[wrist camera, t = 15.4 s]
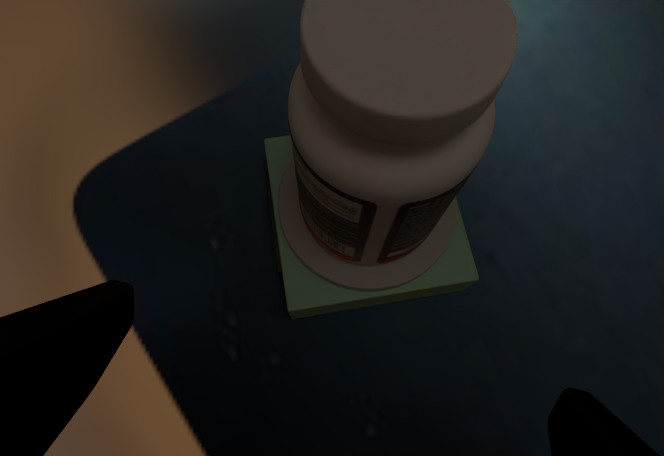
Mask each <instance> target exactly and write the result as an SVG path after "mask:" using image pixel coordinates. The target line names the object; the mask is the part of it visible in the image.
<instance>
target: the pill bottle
mask: <svg viewBox="0 0 664 456" xmlns="http://www.w3.org/2000/svg"><path fill="white" fill-rule="evenodd" d="M517 35H518V34H517V26H516V21H515V16H514V14H513V11H512V9H511V6H510V4H509V2H508V0H305V2H304V5H303V8H302V13H301V19H300V61H301V62H300V63H299V65H298V67H297V69H296V71H295V74H294V76H293V79H292V82H291V86H290V91H289V97H288V118H289V129H290V135H291V142H292V149H293V157H294V165H295V172H296V179H297V186H298V194H299V203H300V209H301V213H302V216H303V219H304V221H305V224H306V226H307V228H308V230H309V231H310V233H311V234H312V236H313V237H314V239H315V240H316V241H317V242H318V243H319V244H320V245H321V246H322V247H323V248H325V249H326V250H327V251H329V252H330V253H332V254H333V255H335V256H337V257H339V258H341V259H343V260H346V261H349V262H353V263H358V264H364V265H378V264H385V263H389V262H393V261H396V260H398V259H401V258H403V257H405V256H407V255H408V254H410V253H411V252H413V251H414V250H415V249H417V248H418V247H419V246H420V245H421V244H422V243H423V242H424V241H425V240H426V238H427V237H428V236H429V235H430V233H431V232H432V230H433V229H434V227H435V226H436V224H437V223H438V221H439V220H440V219H441V217H442V216H443V214H444V213H445V211H446V210H447V208H448V207H449V205H450V204H451V203H452V201H453V200H454V198H455V197H456V195H457V194H458V192H459V191H460V189H461V188H462V187H463V185H464V183H465V182H466V181H467V179H468V178H469V176H470V175H471V173H472V172H473V170H474V169H475V168H476V166H477V164H478V163H479V161H480V159H481V158H482V156H483V154H484V152H485V151H486V148H487V146H488V144H489V141H490V139H491V136H492V132H493V127H494V121H495V101H494V99H495V97H496V94H497V92H498V90H499V89H500V87H501V85H502V83H503V81H504V79H505V78H506V76H507V74H508V72H509V70H510V68H511V66H512V63H513V60H514V57H515V52H516V47H517Z"/></svg>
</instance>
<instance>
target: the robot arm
mask: <svg viewBox="0 0 664 456" xmlns="http://www.w3.org/2000/svg"><path fill="white" fill-rule="evenodd" d="M133 320H134V290H133V287H132V285H130V284H129V283H124V282H120V281H116V280H111V281H108V282H105V283H102V284H99V285H96V286H93V287H90V288H87V289H84V290H81V291H78V292H75V293H72V294H69V295H66V296H63V297H60V298H57V299H54V300H51V301H48V302H45V303H42V304H39V305H36V306H33V307H30V308H27V309H24V310H21V311H18V312H15V313H12V314H9V315H6V316H3V317H0V456H43V455H44V454H45V453H46V451H47V450H48V448H49V447H50V446H51V445H52V443H53V442H54V441H55V439H56V438H57V437H58V435H59V434H60V433H61V432H62V430H63V429H64V428H65V426H66V425H67V424H68V422H69V421H70V420H71V418H72V417H73V416H74V414H75V413H76V412H77V410H78V409H79V408H80V406H81V405H82V404H83V402H84V401H85V400H86V398H87V397H88V396H89V394H90V393H91V391H92V390H93V389H94V387H95V386H96V384H97V382H98V381H99V379H100V378H101V376H102V374H103V373H104V371H105V369H106V367H107V366H108V364H109V363H110V361H111V359H112V358H113V356H114V354H115V353H116V351H117V349H118V348H119V346H120V344H121V343H122V341H123V339H124V338H125V336H126V334H127V333H128V331H129V329H130V328H131V326H132V323H133ZM548 434H549V441H550V447H551V454H552V456H660V455H659V454H657V453H656V452H655V451H654V450H653V449H652V448H651V447H650V446H649V445H647V444H646V443H645V442H644V441H643V440H642V439H641V438H640V437H638V436H637V435H636V434H635V433H634V432H633V431H632V430H631V429H630V428H628V427H627V426H626V425H625V424H624V423H623V422H622V421H621V420H619V419H618V418H617V417H616V416H615V415H614V414H613V413H612V412H610V411H609V410H608V409H607V408H606V407H605V406H604V405H603V404H602V403H600V402H599V401H598V400H597V399H596V398H595V397H594V396H593V395H591V394H590V393H588V392H586V391H582V390H578V389H574V388H566V389H565V390H563V392H562V393H561V395H560V397H559V399H558V401H557V402H556V404H555V406H554V408H553V410H552V412H551V413H550V416H549V419H548Z"/></svg>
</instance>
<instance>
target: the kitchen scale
mask: <svg viewBox="0 0 664 456" xmlns="http://www.w3.org/2000/svg"><path fill="white" fill-rule="evenodd" d="M264 144H265V151H266V158H267V165H268V173H269V179H266V187H267V195H268V202H269V210H270V217H271V224H272V232H273V239H274V247H275V254H276V262H277V269H278V274H279V276H280V278H283V281H284V289H285V296H286V303H287V310H288V313H289V315H290V317H291V319H297V318H303V317H308V316H314V315H320V314H326V313H332V312H338V311H344V310H350V309H356V308H362V307H368V306H374V305H379V304H385V303H391V302H397V301H403V300H409V299H415V298H421V297H427V296H433V295H439V294H445V293H450V292H456V291H462V290H464V289H466V288H467V287H469V286H470V285H472V284H473V283H475V282H476V281H478V280H479V277H478V273H477V270H476V266H475V263H474V259H473V256H472V252H471V249H470V245H469V242H468V238H467V235H466V231H465V228H464V224H463V221H462V217H461V214H460V210H459V207H458V203H457V200H456V197H455V198H454V200H453V201H452V203H451V204H450V205H449V207H448V208H447V210H446V211H445V213H444V214H443V216H442V217H441V219H440V220H439V221H438V223H437V224H436V226H435V227H434V229H433V230H432V232H431V233H430V235H429V236H428V237H427V238H426V240H425V241H424V242H423V243H422V244H421V245H420V246H419V247H418V248H417V249H415V250H414V251H413V252H411V253H410V254H408V255H407V256H405V257H403V258H401V259H398V260H396V261H393V262H389V263H385V264H378V265H364V264H358V263H353V262H349V261H346V260H343V259H341V258H339V257H337V256H335V255H333V254H332V253H330V252H329V251H327V250H326V249H325V248H323V247H322V246H321V245H320V244H319V243H318V242H317V241H316V240H315V239H314V237H313V236H312V234H311V233H310V231H309V230H308V228H307V226H306V224H305V221H304V219H303V216H302V213H301V209H300V203H299V194H298V186H297V179H296V172H295V165H294V157H293V149H292V142H291V135H290V136H282V137H275V138H268V139H264Z"/></svg>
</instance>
